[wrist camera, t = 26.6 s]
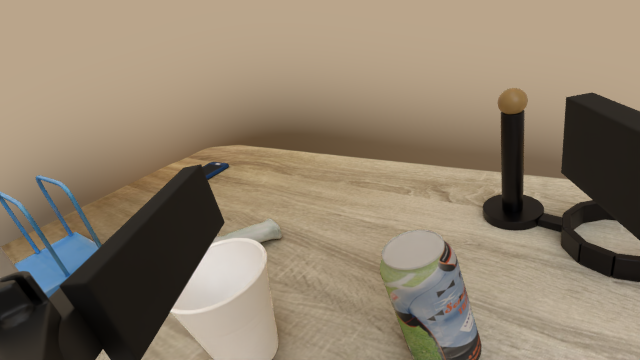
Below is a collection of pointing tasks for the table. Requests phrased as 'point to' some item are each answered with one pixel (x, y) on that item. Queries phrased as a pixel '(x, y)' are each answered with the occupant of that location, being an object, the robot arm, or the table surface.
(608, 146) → the robot arm
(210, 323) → the cup
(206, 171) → the cell phone
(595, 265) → the can holder
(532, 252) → the table surface
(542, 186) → the table surface
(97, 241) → the file sorter
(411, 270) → the beverage can
